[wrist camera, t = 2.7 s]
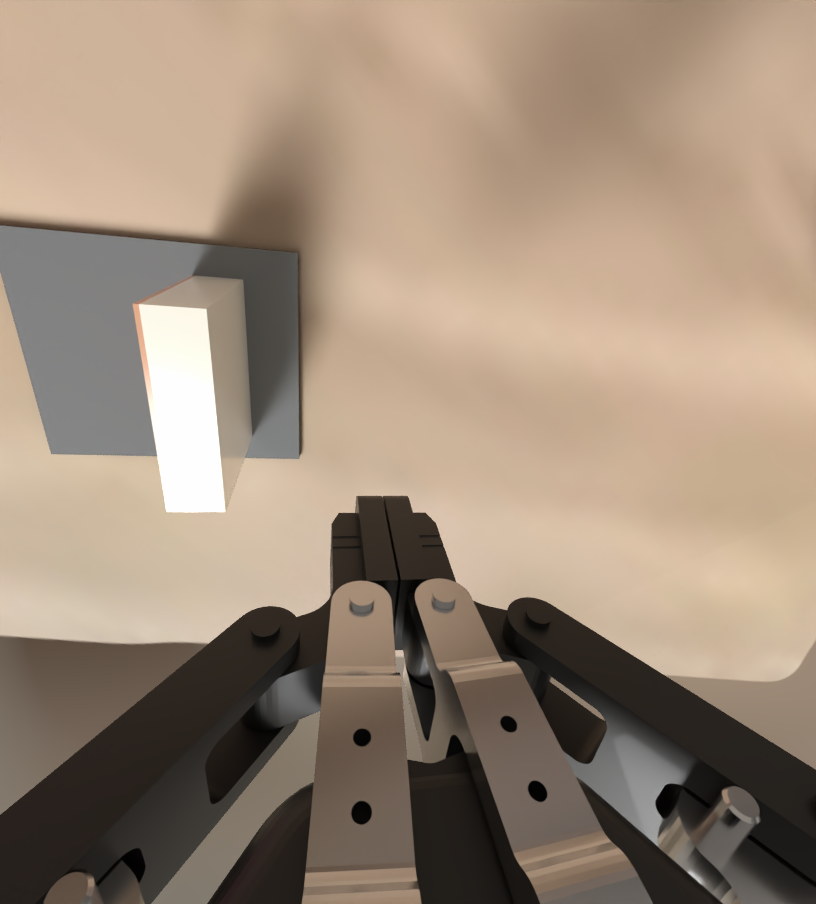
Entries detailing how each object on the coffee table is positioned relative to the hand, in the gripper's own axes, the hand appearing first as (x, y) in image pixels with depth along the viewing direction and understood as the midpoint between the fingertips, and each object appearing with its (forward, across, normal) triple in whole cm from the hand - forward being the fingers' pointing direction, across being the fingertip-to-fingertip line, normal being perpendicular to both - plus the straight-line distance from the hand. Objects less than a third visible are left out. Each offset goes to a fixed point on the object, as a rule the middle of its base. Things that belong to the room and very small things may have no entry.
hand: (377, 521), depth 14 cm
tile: (+15, +7, 0) cm, 17 cm away
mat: (+16, +10, 0) cm, 19 cm away
